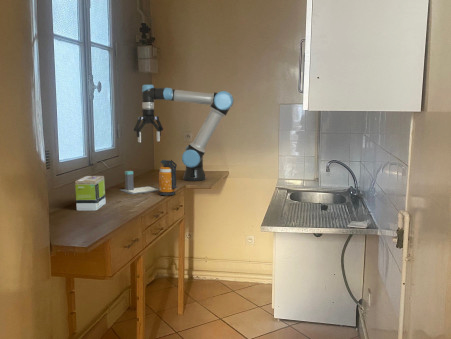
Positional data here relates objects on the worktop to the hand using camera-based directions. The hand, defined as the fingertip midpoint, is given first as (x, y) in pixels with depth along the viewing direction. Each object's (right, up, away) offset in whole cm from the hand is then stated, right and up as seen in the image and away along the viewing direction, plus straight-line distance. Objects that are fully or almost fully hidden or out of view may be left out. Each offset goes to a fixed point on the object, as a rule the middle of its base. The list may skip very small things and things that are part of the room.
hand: (149, 141), depth 287 cm
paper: (0, -31, -25) cm, 40 cm away
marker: (-7, -30, -27) cm, 41 cm away
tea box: (-16, -37, -70) cm, 81 cm away
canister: (+18, -33, -39) cm, 54 cm away
